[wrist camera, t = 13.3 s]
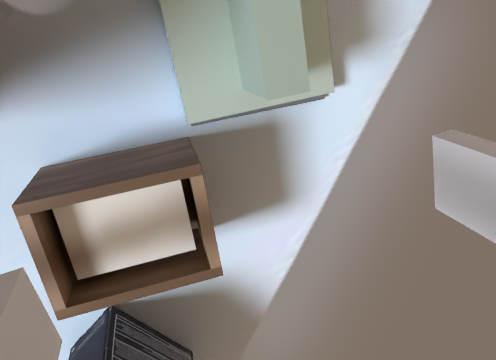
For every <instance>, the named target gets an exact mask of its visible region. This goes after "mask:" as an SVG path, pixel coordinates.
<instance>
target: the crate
mask: <svg viewBox="0 0 496 360" xmlns="http://www.w3.org/2000/svg"><path fill="white" fill-rule="evenodd" d="M12 208H13V210H14V213H15V215H16V218H17V220H18V223H19V225H20V228H21V230H22V233H23V235H24V238H25V240H26V243H27V245H28V248H29V250H30V253H31V255H32V258H33V260H34V263H35V265H36V268H37V270H38V273H39V275H40V278H41V280H42V283H43V285H44V287H45V290H46V292H47V295H48V297H49V300H50V302H51V305H52V307H53V310H54V312H55V315H56V317H57V320H62V319H66V318H69V317H73V316H77V315H80V314H84V313H88V312H91V311H95V310H98V309H102V308H106V307H109V306H113V305H117V304H120V303H124V302H128V301H131V300H135V299H139V298H142V297H146V296H150V295H153V294H157V293H160V292H164V291H168V290H171V289H175V288H179V287H182V286H186V285H190V284H193V283H197V282H201V281H204V280H208V279H211V278H215V277H219V276H222V275H223V271H222V266H221V262H220V257H219V252H218V247H217V242H216V237H215V232H214V227H213V223H212V218H211V213H210V208H209V203H208V198H207V193H206V188H205V184H204V179H203V174H202V169H201V164H200V162H199V160H198V158H197V156H196V153H195V151H194V149H193V147H192V145H191V143H190V141H189V139H188V137H187V138H182V139H177V140H172V141H167V142H163V143H158V144H153V145H148V146H144V147H139V148H134V149H129V150H124V151H120V152H115V153H110V154H105V155H101V156H96V157H91V158H86V159H81V160H77V161H72V162H67V163H62V164H58V165H53V166H48V167H43V168H40V170H39V171H38V172H37V173H36V175H35V176H34V177H33V179H32V180H31V181H30V183H29V184H28V185H27V186H26V188H25V189H24V190H23V192H22V193H21V194H20V196H19V197H18V198H17V199H16V201H15V202H14V203H13V205H12Z"/></svg>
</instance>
